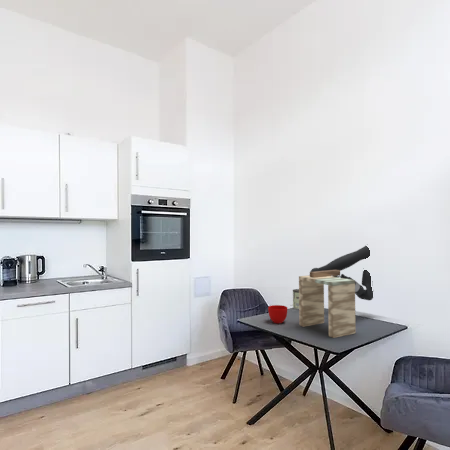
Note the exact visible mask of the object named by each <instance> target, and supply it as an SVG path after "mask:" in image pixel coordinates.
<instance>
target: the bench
mask: <svg viewBox="0 0 450 450" xmlns="http://www.w3.org/2000/svg"><path fill="white" fill-rule="evenodd" d="M355 281H356V279H353V280H351V279H345V278H340V277H338V276H337V277H333V276H327V277H317V278H312V277H310V274H309V275H300V276H298V289H299V309H298V310H299V311H298V315H299V317H298V321H299V322H298V323H299V326H301V327H303V328H304V327H309V326H316V325H321V324H325V286H327V301H328V302H327V303H328V304H327V306H328V308H327V309H328V310H327V311H328V312H327V313H328V315H327V316H328V318H327V319H328V337H329V338H333V339H335V338H339V337H345V336H350V335H353V334H356V330H357V329H356V327H357V326H356V294H355Z"/></svg>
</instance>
